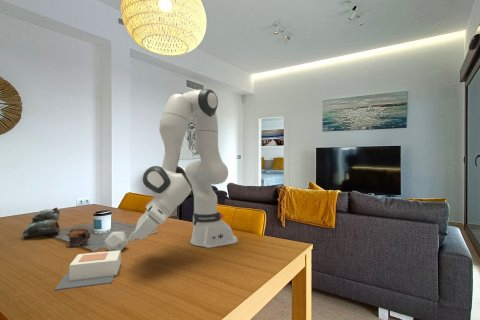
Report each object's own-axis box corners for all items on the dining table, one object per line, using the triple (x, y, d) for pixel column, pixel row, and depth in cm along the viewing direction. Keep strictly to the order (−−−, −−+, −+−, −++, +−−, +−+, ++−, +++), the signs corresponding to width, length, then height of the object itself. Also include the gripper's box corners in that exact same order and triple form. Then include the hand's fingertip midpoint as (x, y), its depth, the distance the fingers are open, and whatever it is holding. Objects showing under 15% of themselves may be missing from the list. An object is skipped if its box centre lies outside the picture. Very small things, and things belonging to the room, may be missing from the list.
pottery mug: (59, 248, 116) (63, 230, 120) (76, 251, 124) (80, 234, 128) (80, 243, 113) (84, 225, 117) (97, 247, 121) (100, 229, 125)
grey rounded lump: (13, 239, 126) (19, 208, 133) (39, 242, 138) (43, 214, 145) (43, 231, 123) (47, 200, 130) (66, 234, 135) (69, 206, 142)
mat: (119, 259, 102) (119, 258, 102) (111, 282, 83) (111, 282, 83) (74, 264, 97) (74, 263, 97) (54, 290, 78) (54, 289, 78)
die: (112, 256, 107) (128, 236, 110) (96, 245, 108) (112, 225, 111) (120, 256, 115) (135, 237, 117) (105, 246, 116) (120, 227, 119)
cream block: (120, 249, 98) (78, 253, 93) (116, 259, 88) (69, 264, 84) (120, 263, 98) (78, 268, 94) (116, 274, 88) (69, 280, 84)
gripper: (151, 200, 106) (126, 226, 104) (150, 210, 87) (119, 242, 84) (163, 210, 108) (138, 236, 105) (164, 222, 88) (134, 254, 86)
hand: (129, 239), depth 95 cm, fingers closed
